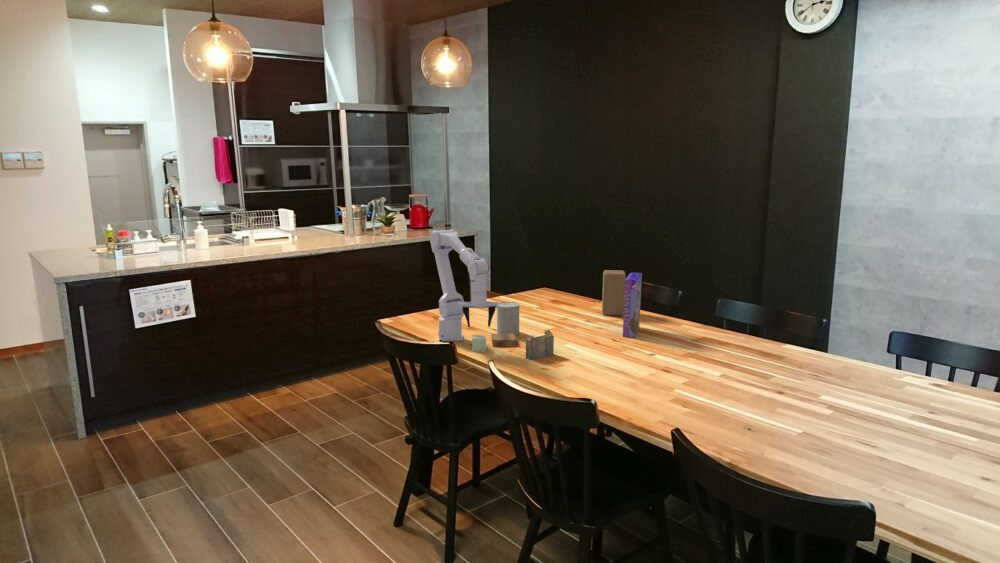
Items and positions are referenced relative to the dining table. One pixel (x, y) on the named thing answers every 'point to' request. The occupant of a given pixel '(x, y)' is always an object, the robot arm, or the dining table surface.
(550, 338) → the ruin model on sheet
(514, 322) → the grey cylinder
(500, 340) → the walnut slab
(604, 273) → the wooden block
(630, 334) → the cereal box
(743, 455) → the dining table surface
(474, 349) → the sage cube
